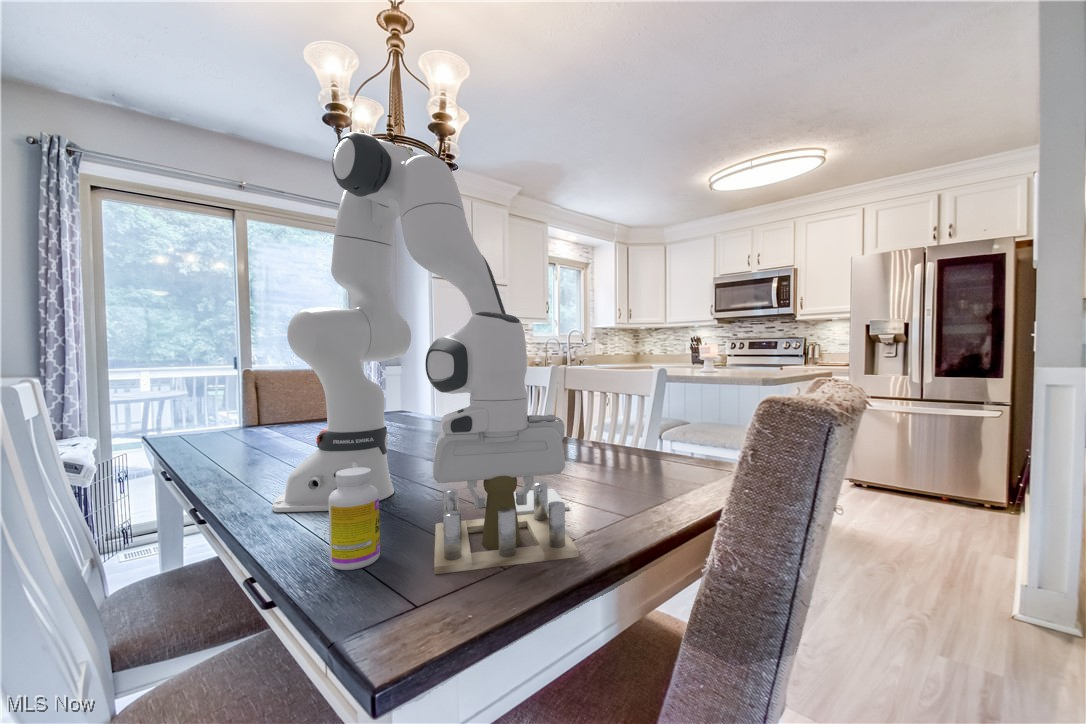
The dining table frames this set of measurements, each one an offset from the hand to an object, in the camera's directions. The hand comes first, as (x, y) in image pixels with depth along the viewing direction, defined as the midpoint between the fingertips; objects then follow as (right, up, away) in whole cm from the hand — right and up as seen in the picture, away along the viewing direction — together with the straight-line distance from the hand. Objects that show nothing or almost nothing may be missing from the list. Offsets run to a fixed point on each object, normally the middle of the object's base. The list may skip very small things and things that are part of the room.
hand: (500, 506), depth 70 cm
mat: (+4, -5, +18) cm, 20 cm away
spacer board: (0, -6, 0) cm, 6 cm away
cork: (0, -6, 0) cm, 6 cm away
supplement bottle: (-20, -6, -6) cm, 22 cm away
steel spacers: (0, -6, 0) cm, 6 cm away
